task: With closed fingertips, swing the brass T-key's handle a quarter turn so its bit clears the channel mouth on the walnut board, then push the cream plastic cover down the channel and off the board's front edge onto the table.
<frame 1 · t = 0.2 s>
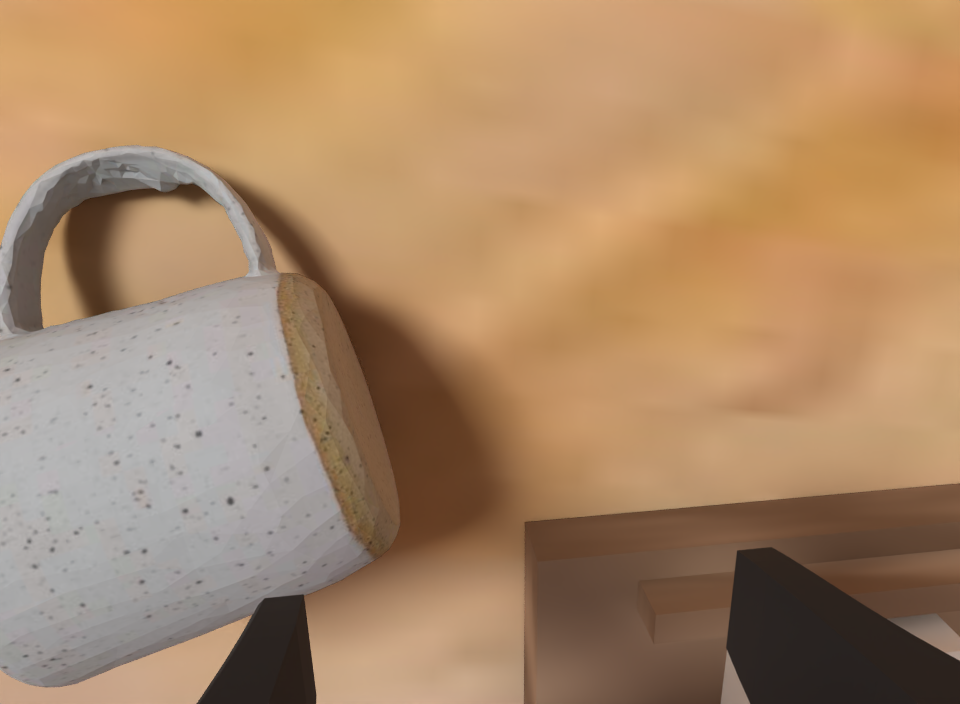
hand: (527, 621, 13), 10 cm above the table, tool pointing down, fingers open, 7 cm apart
ceramic mug: (192, 350, 21), on the table
cream cover: (809, 690, 25), point 2 cm above the table, touching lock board
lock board: (774, 680, 28), on the table
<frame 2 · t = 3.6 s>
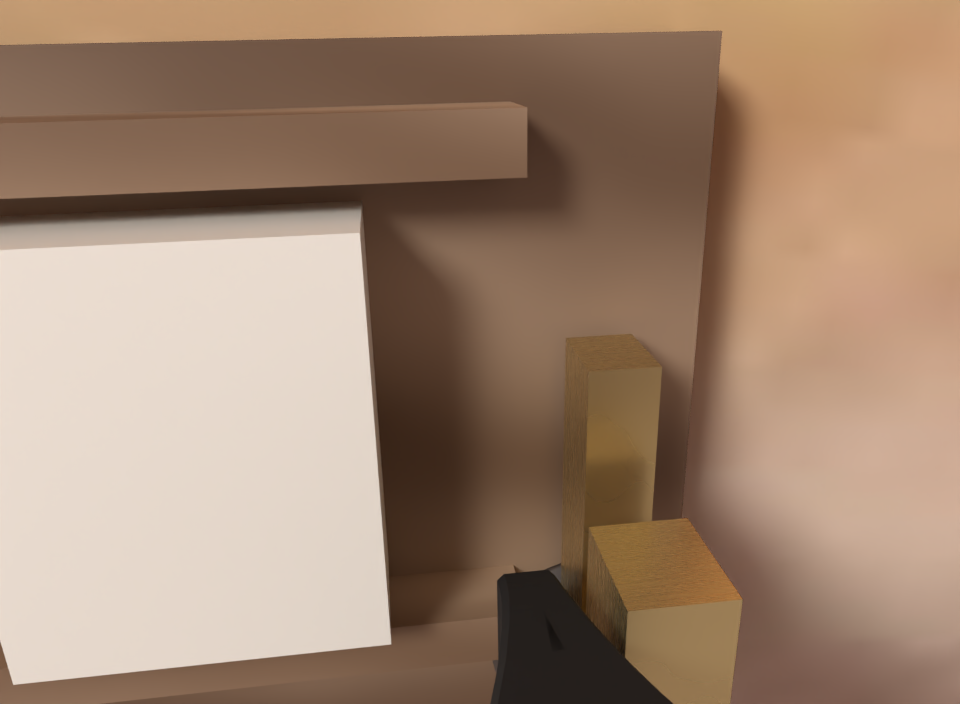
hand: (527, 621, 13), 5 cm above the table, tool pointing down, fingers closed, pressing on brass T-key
brass T-key: (621, 688, 14), point 5 cm above the table, hinge at 0.0°, touching gripper
cream cover: (205, 406, 14), point 2 cm above the table, touching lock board
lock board: (235, 431, 16), on the table
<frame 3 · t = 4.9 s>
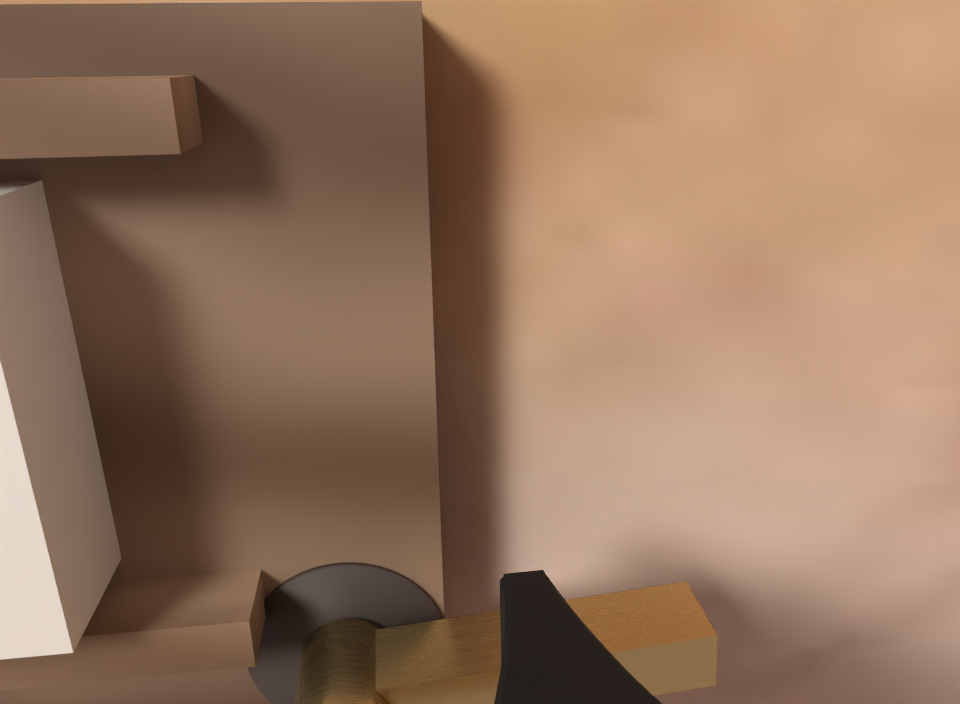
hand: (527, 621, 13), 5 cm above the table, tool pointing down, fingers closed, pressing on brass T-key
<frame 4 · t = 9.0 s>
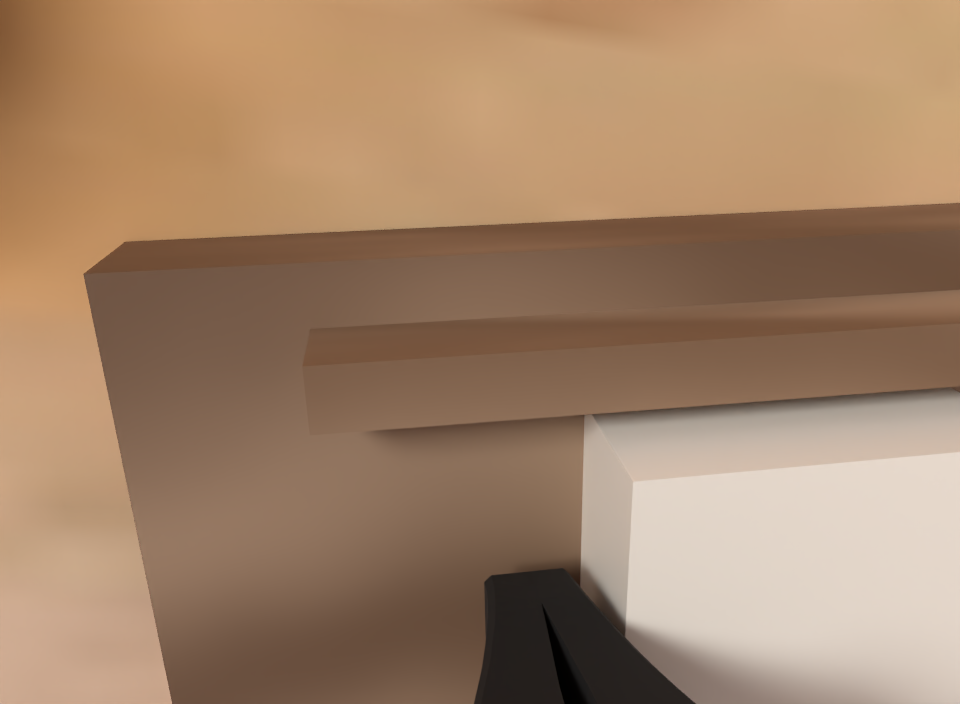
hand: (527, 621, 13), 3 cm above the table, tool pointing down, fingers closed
cream cover: (742, 566, 14), point 2 cm above the table, touching gripper, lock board
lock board: (637, 572, 16), on the table
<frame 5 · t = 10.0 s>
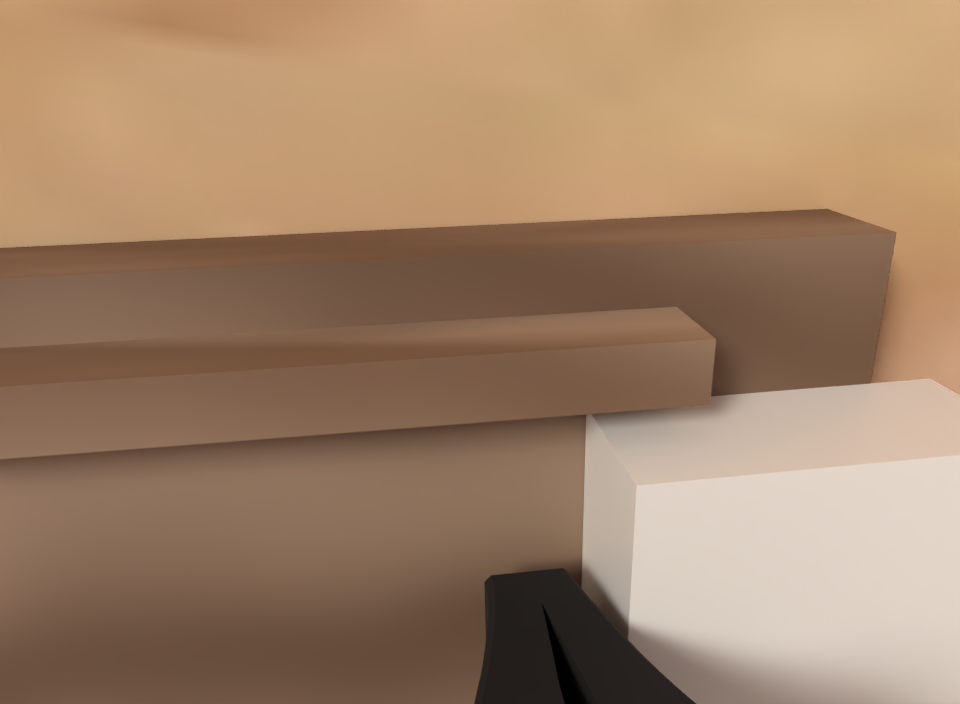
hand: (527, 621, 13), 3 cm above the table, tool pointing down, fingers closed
cream cover: (742, 568, 14), point 2 cm above the table, touching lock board
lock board: (355, 601, 16), on the table
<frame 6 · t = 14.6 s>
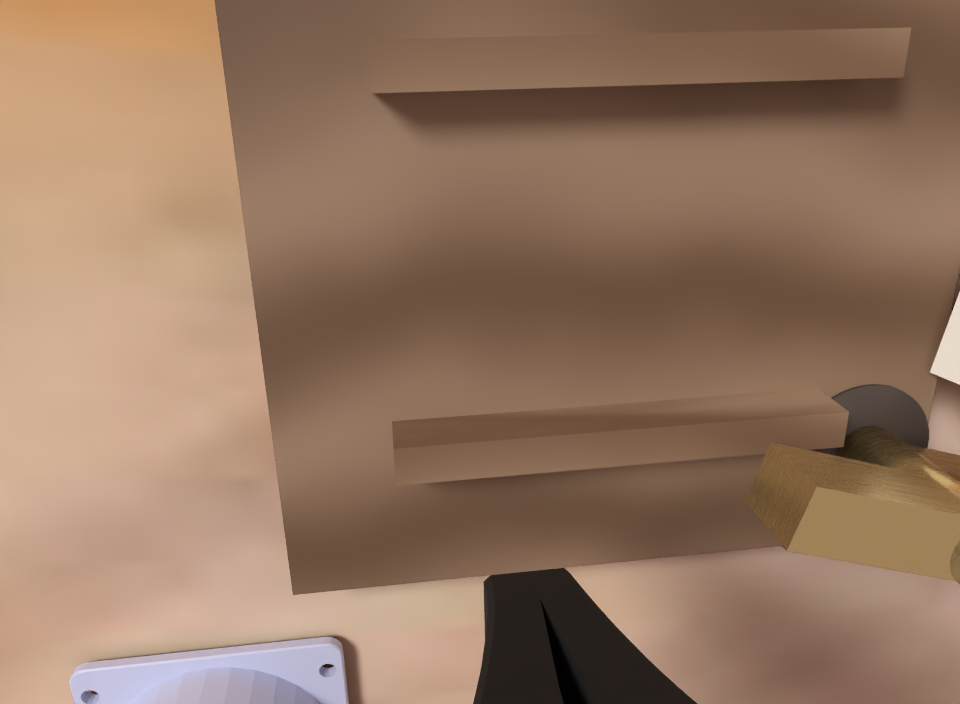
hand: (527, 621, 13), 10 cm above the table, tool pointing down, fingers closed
brass T-key: (955, 506, 20), point 5 cm above the table, hinge at -107.0°
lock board: (603, 290, 22), on the table
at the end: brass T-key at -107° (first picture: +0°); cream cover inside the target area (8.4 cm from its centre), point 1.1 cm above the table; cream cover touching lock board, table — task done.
